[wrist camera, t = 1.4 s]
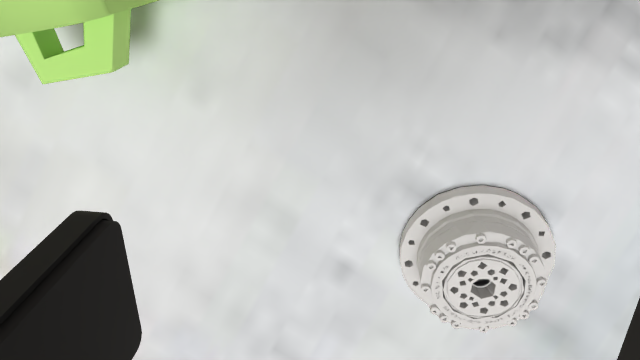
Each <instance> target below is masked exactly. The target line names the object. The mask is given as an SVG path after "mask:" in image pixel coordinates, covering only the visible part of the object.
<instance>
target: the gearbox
mask: <svg viewBox="0 0 640 360" xmlns="http://www.w3.org/2000/svg"><path fill="white" fill-rule="evenodd" d="M155 1H158V0H0V37H4V36H11V35H15V36H16V38H17V40H18V41H19V43H20V45H21V47H22V48H23V50H24V52H25V54H26V56H27V57H28V59H29V61H30V63H31V64H32V66H33V68H34V70H35V72H36V73H37V75H38V77H39V79H40V80H41V82H42V84H47V83H53V82H59V81H65V80H70V79H76V78H82V77H88V76H94V75H100V74H105V73H111V72H114V71H116V70H118V69H120V68H122V67H123V66H125V65H127V64H129V44H130V21H131V9H133V8H136V7H139V6H143V5H146V4H149V3H152V2H155ZM79 23H83V28H84V45H83V46H80V47H77V48H74V49H71V50H67V51H63V48H62V46H61V44H60V41H59V39H58V37H57V34H56V32H55V30H54V28H58V27H64V26H69V25H74V24H79Z"/></svg>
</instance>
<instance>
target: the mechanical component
mask: <svg viewBox="0 0 640 360" xmlns="http://www.w3.org/2000/svg"><path fill="white" fill-rule="evenodd" d="M555 248H556V244H555V241H554V239H553V236H552V233H551V231H550V228H549V226H548V224H547V222H546V221H545V219H544V218H543V216H542V215H541V213H540V212H539V210H538V208H537V207H536V206H534V205H533V204H531V203H530V202H529V201H527V200H526V199H524V198H523V197H521V196H520V195H518V194H517V193H514V192H511V191H509V190H506V189H503V188H497V187H491V186H485V185H480V186H469V187H459V188H456V189H453V190H450V191H447V192H444V193H441V194H438V195H436V196H435V197H434V198H432V199H431V200H429V201H428V202H427V203H425V204H424V205H422V206H421V207H420V208H419V209H418V210H417V211H416V212H415V213H414V214H413V216H412V217H411V218H410V219H409V221H408V223H407V225H406V226H405V228H404V230H403V233H402V238H401V242H400V265H401V270H402V274H403V277H404V279H405V281H406V283H407V285H408V287H409V288H410V289H411V290H412V292H413V293H414V294H415V295H416V296H417V297H418V298H419V299H420V300H422V301H423V302H424V303H426V304H427V305H428V306H429V308H430V312H431V313H432V314H435V315H437V316H439V318H440V320H441V321H442V323H443V322H449V323H451V325H452V327H453V328H454V329H456V328H460V327H461V328H468V329H475V330H480V332H483V333H486V332H487V331H488V330H489V329H495V328H499V327H502V326H506V325H509V326H512V327H513V326H515V325H516V324H517V320H519V319H527V318H528V317H529V312H530V311H531V310H535V309H537V308H538V302H539V300H540V298H541V297H542V295H543V293H544V290H545V286H546V285H547V280H548V278H549V276H550V274H551V272H552V270H553V268H554V264H555Z"/></svg>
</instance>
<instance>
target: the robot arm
mask: <svg viewBox="0 0 640 360" xmlns="http://www.w3.org/2000/svg"><path fill="white" fill-rule="evenodd" d="M141 335H142V331H141V325H140V320H139V315H138V310H137V305H136V300H135V295H134V290H133V285H132V280H131V275H130V270H129V265H128V260H127V255H126V250H125V245H124V240H123V235H122V230H121V226H120V224H119V223H118V222H116V221H113V219H112V217H111V216H110V214H108V213H103V212H90V211H75V212H73V213H72V214H71V215H70V216H68V217H67V218H66V219H65V220H64V221H63V222H62V223H61V224H60V225H59V226H58V227H57V228H56V229H55V230H54V231H52V232H51V233H50V234H49V235H48V236H47V237H46V238H45V239H44V240H43V241H42V242H41V243H40V244H39V245H38V246H36V247H35V248H34V249H33V250H32V251H31V252H30V253H29V254H28V255H27V256H26V257H25V258H24V259H23V260H22V261H20V262H19V263H18V264H17V265H16V266H15V267H14V268H13V269H12V270H11V271H10V272H9V273H8V274H7V275H6V276H4V277H3V278H2V279H1V280H0V360H132V358H133V357H134V355H135V353H136V352H137V350H138V348H139V345H140V342H141ZM617 360H640V298H639V301H638V304H637V307H636V309H635V312H634V315H633V318H632V320H631V323H630V326H629V329H628V331H627V334H626V337H625V340H624V342H623V345H622V348H621V351H620V353H619V356H618V359H617Z"/></svg>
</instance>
